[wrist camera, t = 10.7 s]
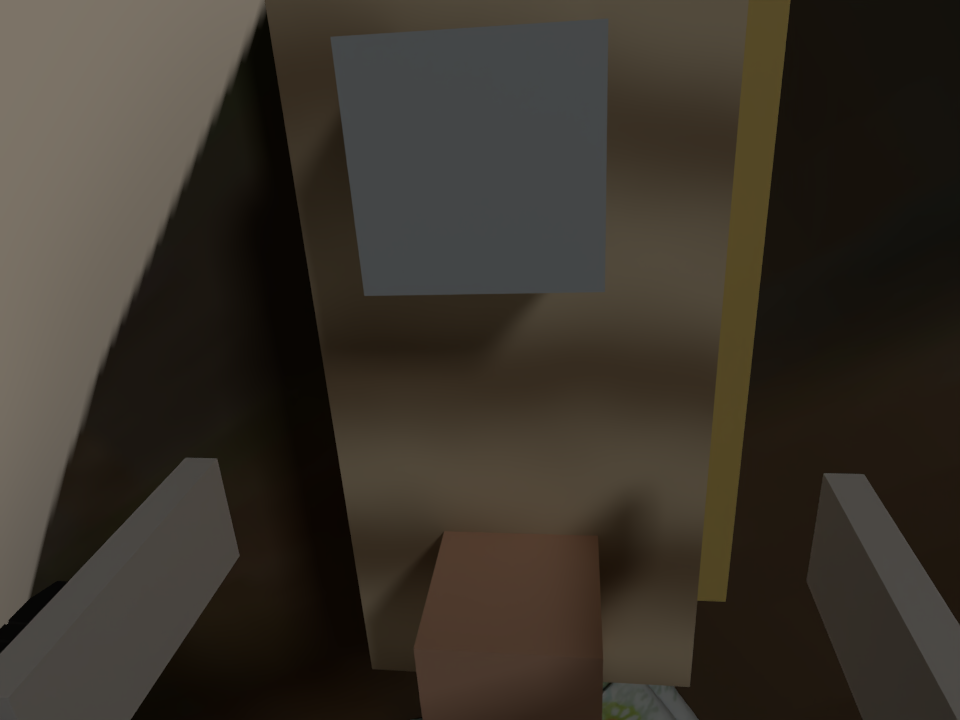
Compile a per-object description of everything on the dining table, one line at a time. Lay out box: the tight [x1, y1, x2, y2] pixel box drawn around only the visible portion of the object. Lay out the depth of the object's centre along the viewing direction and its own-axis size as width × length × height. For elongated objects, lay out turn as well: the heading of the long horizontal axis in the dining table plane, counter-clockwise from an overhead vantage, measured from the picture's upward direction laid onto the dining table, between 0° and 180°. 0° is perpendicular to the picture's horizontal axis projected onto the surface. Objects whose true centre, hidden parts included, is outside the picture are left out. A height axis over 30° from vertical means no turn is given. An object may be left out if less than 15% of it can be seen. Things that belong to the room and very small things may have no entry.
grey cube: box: [330, 19, 608, 296], centre depth 16 cm, size 5×5×5 cm
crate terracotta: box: [414, 531, 603, 720], centre depth 21 cm, size 5×5×5 cm
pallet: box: [265, 0, 749, 687], centre depth 24 cm, size 22×11×6 cm, turn 3°
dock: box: [697, 0, 790, 602], centre depth 29 cm, size 26×16×5 cm, turn 3°
